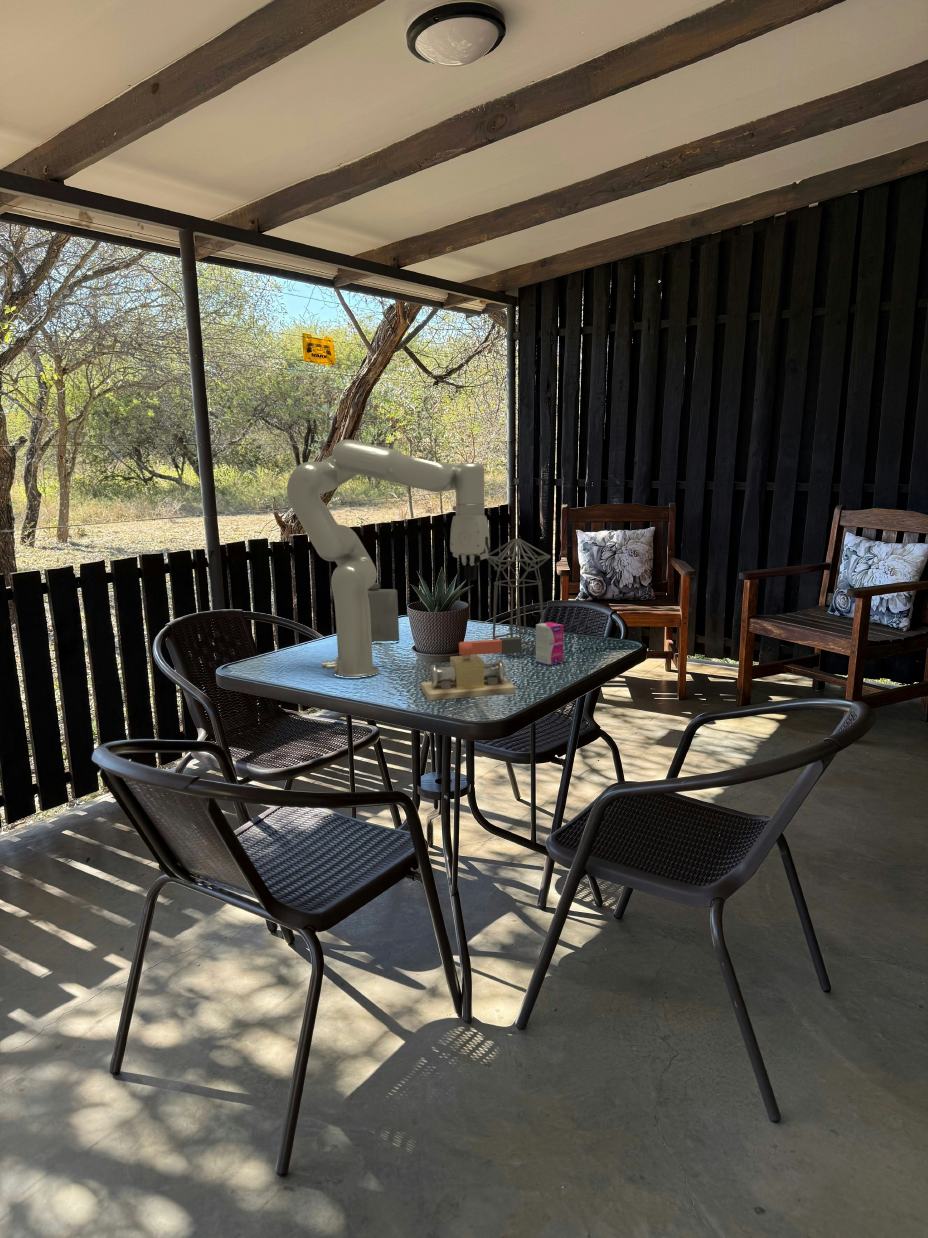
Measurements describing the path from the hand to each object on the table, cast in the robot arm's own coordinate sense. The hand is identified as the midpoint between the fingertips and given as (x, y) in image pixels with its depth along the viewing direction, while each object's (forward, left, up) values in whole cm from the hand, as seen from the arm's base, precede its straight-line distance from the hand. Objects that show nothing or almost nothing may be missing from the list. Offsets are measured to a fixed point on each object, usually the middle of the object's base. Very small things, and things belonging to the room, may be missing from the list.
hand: (470, 579), depth 215 cm
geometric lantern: (+19, +22, -27) cm, 40 cm away
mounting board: (-5, -15, -26) cm, 31 cm away
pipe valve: (-5, -15, -26) cm, 31 cm away
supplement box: (+24, +7, -27) cm, 37 cm away
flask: (-21, +53, -27) cm, 63 cm away
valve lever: (+1, -15, -18) cm, 23 cm away
